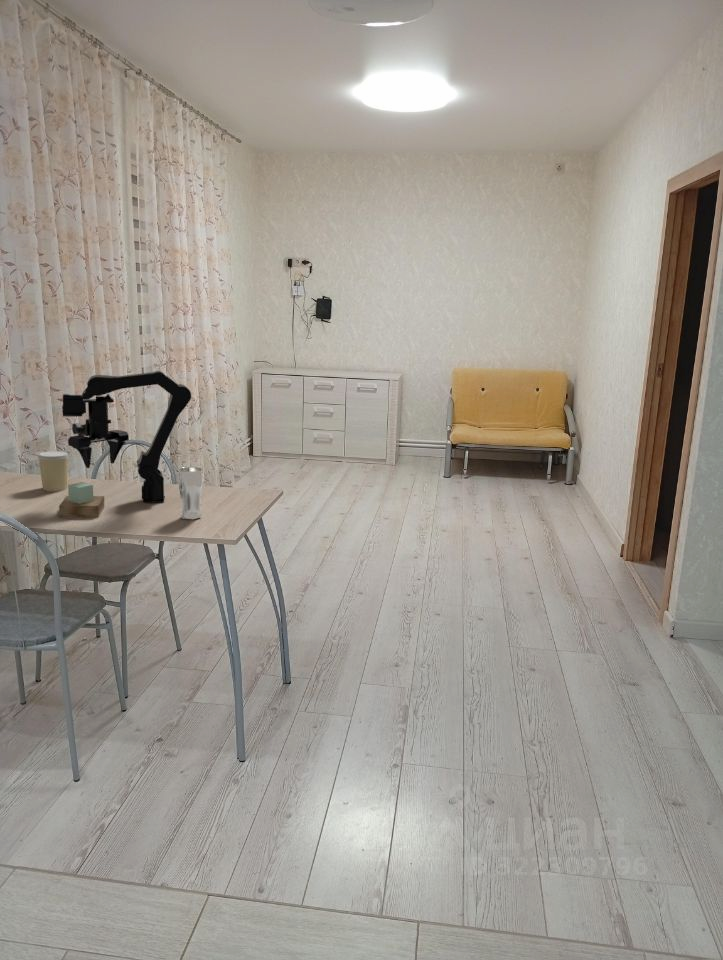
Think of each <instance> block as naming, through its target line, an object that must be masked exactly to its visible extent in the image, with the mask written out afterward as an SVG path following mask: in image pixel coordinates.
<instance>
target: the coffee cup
mask: <svg viewBox="0 0 723 960" xmlns="http://www.w3.org/2000/svg"><path fill="white" fill-rule="evenodd" d="M69 457H70V456H69V454H68V452H67V451H60V450H57V451H56V450H52V451H42V452H40V453H39V454H38V456H37V458H38V461H39V471H40V478H41V479H40V480H41V485H42V490H43V491H45V490H46V491H45V492H61V490H63V491H65V489H66V490H68V485H69V481H68V480H69Z"/></svg>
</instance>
